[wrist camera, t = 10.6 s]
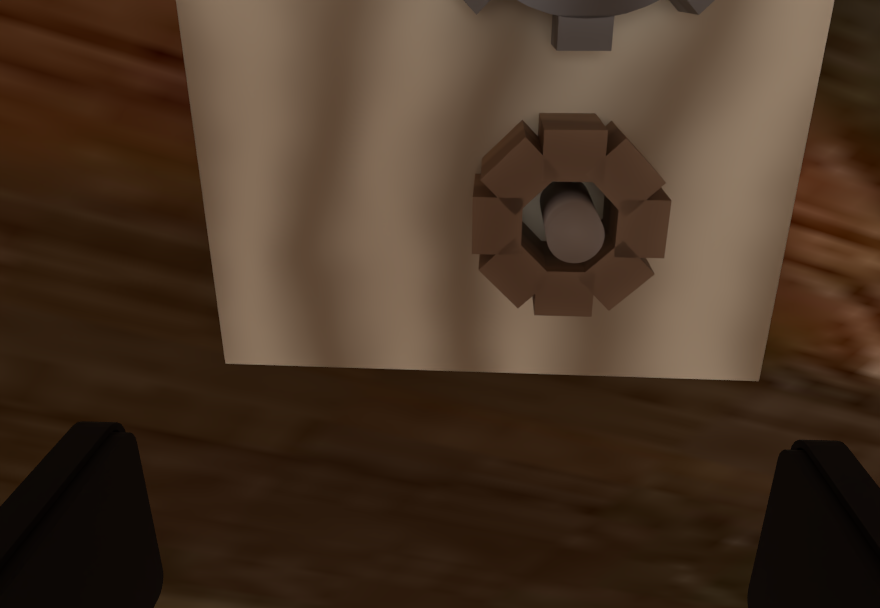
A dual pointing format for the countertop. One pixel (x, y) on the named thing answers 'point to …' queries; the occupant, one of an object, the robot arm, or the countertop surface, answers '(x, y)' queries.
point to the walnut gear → (568, 160)
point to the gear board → (458, 160)
